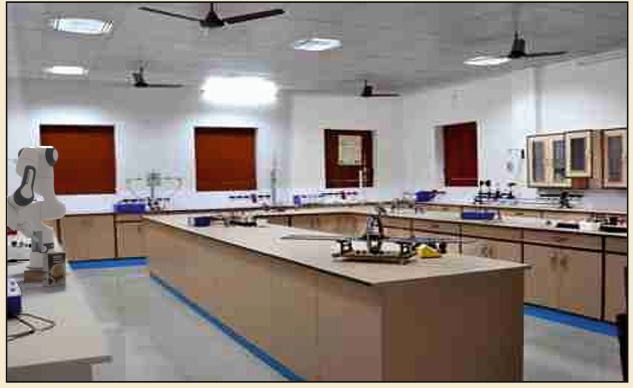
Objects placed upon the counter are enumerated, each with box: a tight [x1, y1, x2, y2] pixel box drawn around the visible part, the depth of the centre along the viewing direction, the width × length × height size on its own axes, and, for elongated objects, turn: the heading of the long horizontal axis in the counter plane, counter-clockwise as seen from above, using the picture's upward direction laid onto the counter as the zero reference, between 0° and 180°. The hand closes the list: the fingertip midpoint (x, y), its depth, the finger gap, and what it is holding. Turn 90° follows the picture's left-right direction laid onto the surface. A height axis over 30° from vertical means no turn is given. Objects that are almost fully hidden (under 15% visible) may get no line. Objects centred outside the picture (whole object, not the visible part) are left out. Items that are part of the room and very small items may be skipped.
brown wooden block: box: [23, 269, 43, 284], centre depth 315 cm, size 11×14×6 cm
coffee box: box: [42, 251, 67, 288], centre depth 301 cm, size 9×6×16 cm
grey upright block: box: [30, 231, 43, 252], centre depth 328 cm, size 6×6×11 cm
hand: (38, 240), depth 328 cm, fingers closed on grey upright block, 6 cm apart
